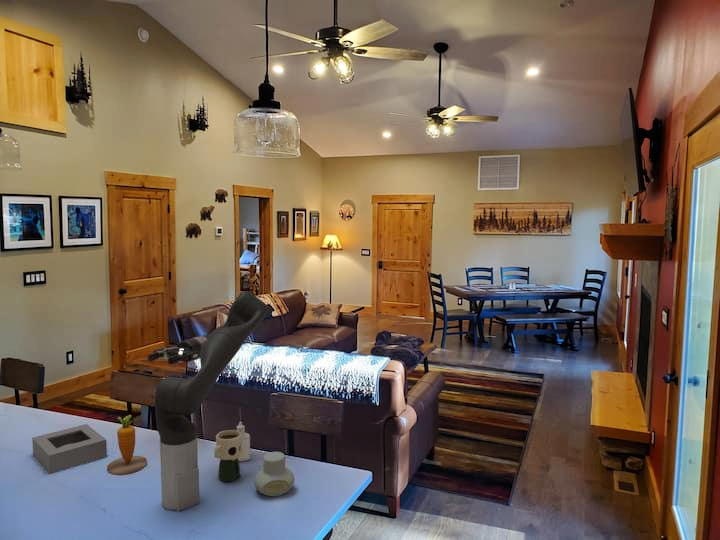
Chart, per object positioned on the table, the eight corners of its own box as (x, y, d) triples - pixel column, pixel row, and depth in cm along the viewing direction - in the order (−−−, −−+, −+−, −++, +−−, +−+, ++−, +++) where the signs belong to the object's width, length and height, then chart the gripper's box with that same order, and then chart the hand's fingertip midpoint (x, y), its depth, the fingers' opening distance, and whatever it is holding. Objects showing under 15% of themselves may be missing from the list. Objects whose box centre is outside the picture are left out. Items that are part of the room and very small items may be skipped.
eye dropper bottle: (245, 463, 160) (244, 425, 159) (229, 461, 162) (228, 423, 161) (252, 457, 165) (252, 420, 164) (236, 455, 166) (236, 418, 165)
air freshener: (255, 501, 139) (255, 464, 138) (253, 485, 147) (252, 451, 146) (296, 495, 142) (296, 460, 141) (292, 481, 150) (291, 447, 149)
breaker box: (107, 456, 164) (106, 439, 164) (49, 473, 153) (49, 455, 153) (87, 440, 177) (86, 424, 177) (33, 454, 166) (32, 437, 165)
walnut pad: (153, 466, 158) (153, 463, 158) (115, 478, 150) (115, 476, 150) (138, 454, 166) (138, 452, 166) (101, 466, 158) (101, 463, 158)
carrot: (115, 465, 157) (112, 416, 156) (129, 458, 162) (127, 411, 160) (126, 468, 155) (123, 419, 154) (140, 461, 159) (137, 413, 158)
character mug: (225, 489, 145) (224, 444, 144) (206, 482, 148) (205, 438, 147) (251, 473, 154) (251, 430, 153) (233, 467, 158) (232, 425, 157)
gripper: (178, 336, 184) (141, 346, 169) (210, 340, 178) (175, 350, 163) (178, 357, 184) (142, 368, 170) (210, 361, 179) (175, 374, 164)
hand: (158, 359), depth 166 cm, fingers open, 8 cm apart
